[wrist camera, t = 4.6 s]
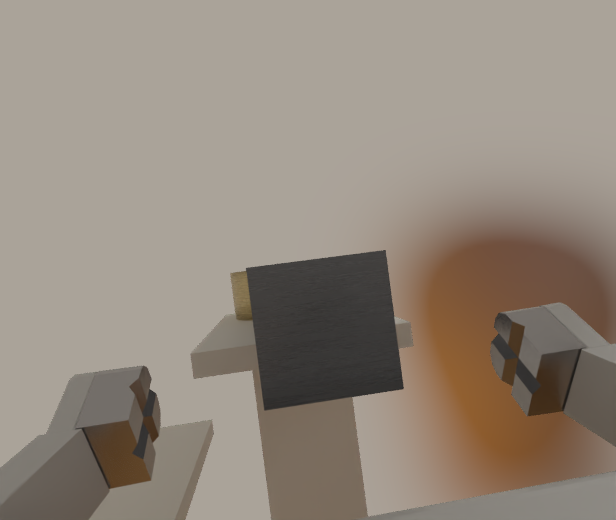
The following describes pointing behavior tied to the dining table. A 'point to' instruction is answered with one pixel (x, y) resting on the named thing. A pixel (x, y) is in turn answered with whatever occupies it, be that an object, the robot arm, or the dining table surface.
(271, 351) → the grey and gold bar
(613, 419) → the robot arm
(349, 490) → the rack
